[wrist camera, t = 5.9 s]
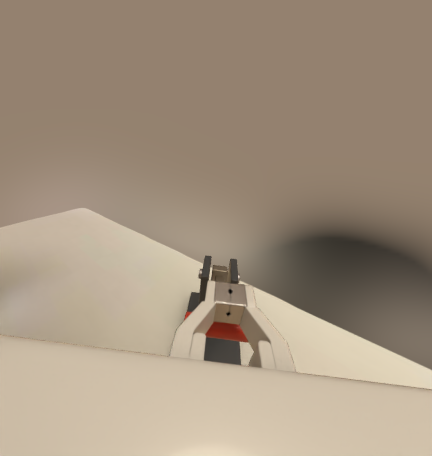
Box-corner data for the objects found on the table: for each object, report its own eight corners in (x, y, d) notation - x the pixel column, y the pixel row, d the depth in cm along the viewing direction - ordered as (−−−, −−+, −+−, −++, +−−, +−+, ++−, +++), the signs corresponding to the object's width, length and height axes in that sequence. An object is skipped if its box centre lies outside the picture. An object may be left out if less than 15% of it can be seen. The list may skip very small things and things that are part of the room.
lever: (257, 355, 11) (262, 321, 11) (180, 345, 11) (184, 311, 11) (234, 282, 25) (236, 267, 25) (201, 278, 25) (203, 263, 25)
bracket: (239, 369, 24) (263, 309, 17) (176, 360, 24) (173, 298, 17) (235, 301, 35) (249, 247, 28) (191, 295, 35) (194, 240, 28)
